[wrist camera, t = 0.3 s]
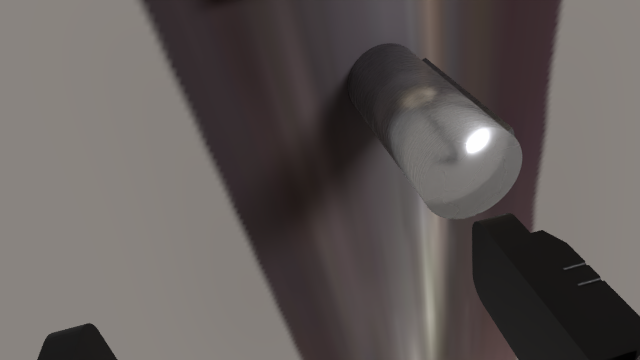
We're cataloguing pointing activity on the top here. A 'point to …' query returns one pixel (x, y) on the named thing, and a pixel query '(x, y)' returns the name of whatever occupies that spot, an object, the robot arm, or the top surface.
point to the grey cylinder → (435, 131)
